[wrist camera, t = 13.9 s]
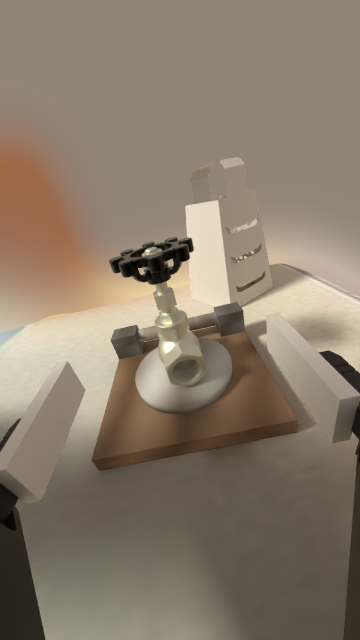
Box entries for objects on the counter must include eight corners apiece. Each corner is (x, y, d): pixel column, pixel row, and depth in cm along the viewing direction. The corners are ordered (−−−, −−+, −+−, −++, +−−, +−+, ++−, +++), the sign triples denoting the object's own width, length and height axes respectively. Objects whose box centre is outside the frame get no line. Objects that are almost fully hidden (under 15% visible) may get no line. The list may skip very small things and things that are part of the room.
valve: (204, 339, 26) (182, 232, 20) (226, 377, 20) (203, 243, 14) (150, 356, 26) (111, 252, 20) (156, 399, 20) (104, 271, 14)
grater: (229, 277, 47) (216, 166, 38) (273, 286, 39) (270, 148, 29) (191, 297, 43) (165, 178, 33) (231, 312, 35) (212, 159, 25)
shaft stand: (99, 470, 18) (74, 437, 16) (126, 355, 31) (114, 328, 29) (297, 432, 17) (299, 391, 15) (239, 330, 30) (236, 300, 28)
